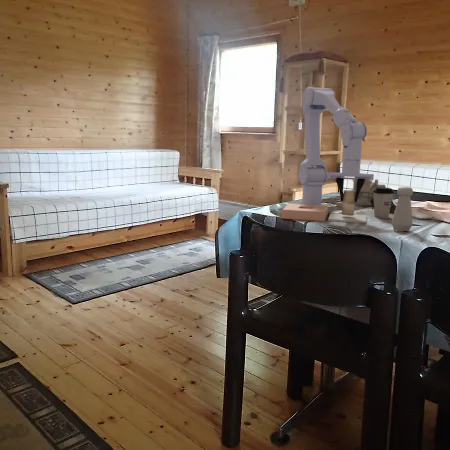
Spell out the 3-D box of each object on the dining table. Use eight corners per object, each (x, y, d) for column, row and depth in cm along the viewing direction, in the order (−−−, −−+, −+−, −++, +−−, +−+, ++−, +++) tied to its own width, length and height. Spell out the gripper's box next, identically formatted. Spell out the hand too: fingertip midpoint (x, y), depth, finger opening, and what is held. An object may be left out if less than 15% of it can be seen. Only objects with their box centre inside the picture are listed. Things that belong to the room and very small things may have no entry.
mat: (330, 214, 163) (330, 213, 163) (366, 216, 159) (366, 215, 159) (328, 220, 152) (328, 219, 151) (366, 223, 148) (366, 221, 148)
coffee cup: (366, 216, 160) (368, 187, 158) (378, 214, 165) (380, 186, 163) (384, 219, 155) (387, 189, 153) (396, 217, 160) (398, 188, 158)
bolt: (389, 218, 169) (373, 209, 183) (401, 211, 169) (385, 203, 183) (382, 204, 167) (367, 197, 182) (395, 197, 167) (379, 191, 182)
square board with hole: (288, 211, 168) (288, 203, 167) (327, 214, 164) (328, 205, 163) (282, 218, 155) (282, 209, 154) (324, 221, 151) (325, 212, 150)
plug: (341, 212, 158) (344, 189, 156) (353, 214, 156) (356, 190, 155) (341, 214, 154) (343, 190, 152) (353, 216, 153) (356, 191, 151)
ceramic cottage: (346, 204, 186) (351, 166, 184) (347, 200, 202) (352, 165, 199) (386, 209, 182) (392, 170, 179) (385, 204, 198) (390, 169, 195)
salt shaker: (388, 231, 137) (392, 187, 135) (393, 227, 142) (397, 185, 139) (409, 233, 134) (413, 188, 131) (413, 230, 139) (417, 187, 136)
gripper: (328, 159, 150) (325, 201, 153) (375, 161, 146) (371, 204, 149) (329, 158, 156) (327, 198, 159) (374, 160, 152) (371, 201, 155)
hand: (348, 201), depth 154 cm, fingers closed on plug, 4 cm apart
